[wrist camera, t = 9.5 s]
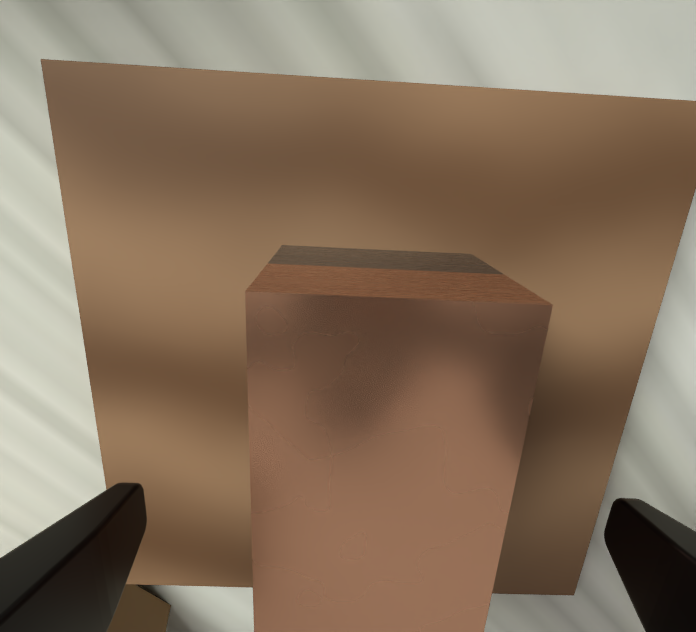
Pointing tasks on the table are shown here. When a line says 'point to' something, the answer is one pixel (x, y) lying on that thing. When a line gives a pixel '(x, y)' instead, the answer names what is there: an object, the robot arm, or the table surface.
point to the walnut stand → (362, 233)
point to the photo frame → (139, 612)
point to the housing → (384, 435)
